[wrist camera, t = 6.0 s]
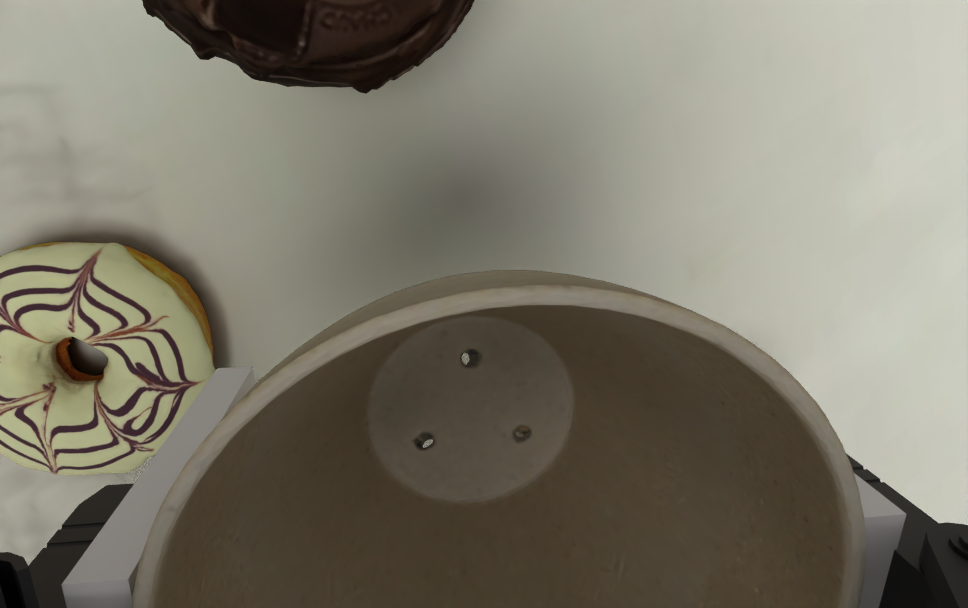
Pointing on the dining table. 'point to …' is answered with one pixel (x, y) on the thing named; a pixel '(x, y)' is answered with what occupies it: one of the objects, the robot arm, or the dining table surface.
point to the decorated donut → (107, 327)
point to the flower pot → (515, 465)
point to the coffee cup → (315, 36)
